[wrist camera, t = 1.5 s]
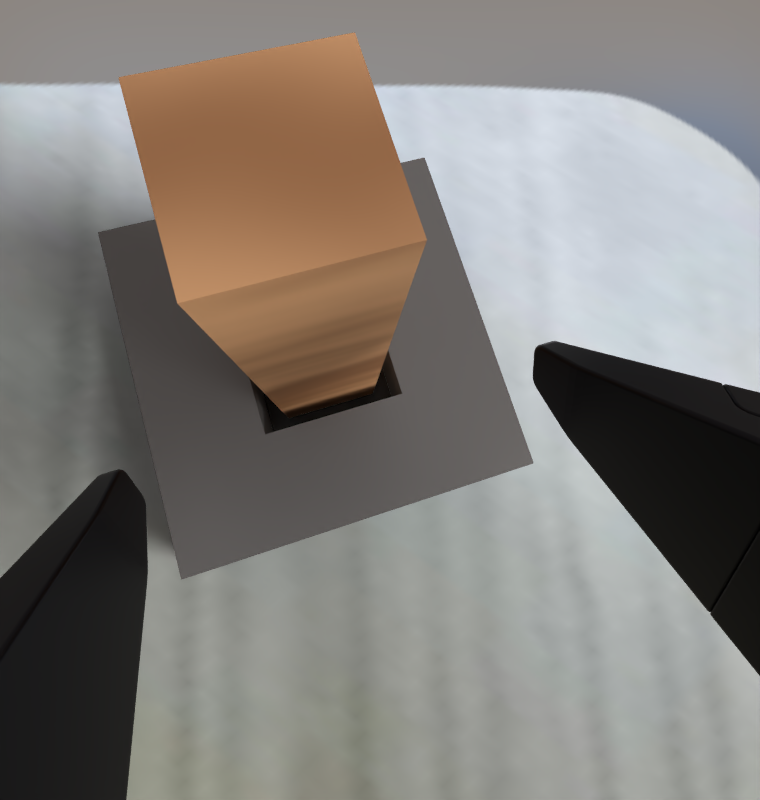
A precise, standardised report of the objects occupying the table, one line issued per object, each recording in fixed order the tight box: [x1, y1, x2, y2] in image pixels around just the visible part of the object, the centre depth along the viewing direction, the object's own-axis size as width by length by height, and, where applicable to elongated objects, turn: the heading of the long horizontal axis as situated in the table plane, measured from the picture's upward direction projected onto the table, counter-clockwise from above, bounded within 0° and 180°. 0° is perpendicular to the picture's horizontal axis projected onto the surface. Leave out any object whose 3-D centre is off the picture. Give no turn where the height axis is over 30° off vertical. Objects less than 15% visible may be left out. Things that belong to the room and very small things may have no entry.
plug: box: [119, 33, 427, 418], centre depth 14 cm, size 4×4×14 cm
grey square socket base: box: [98, 158, 533, 579], centre depth 20 cm, size 14×14×3 cm
